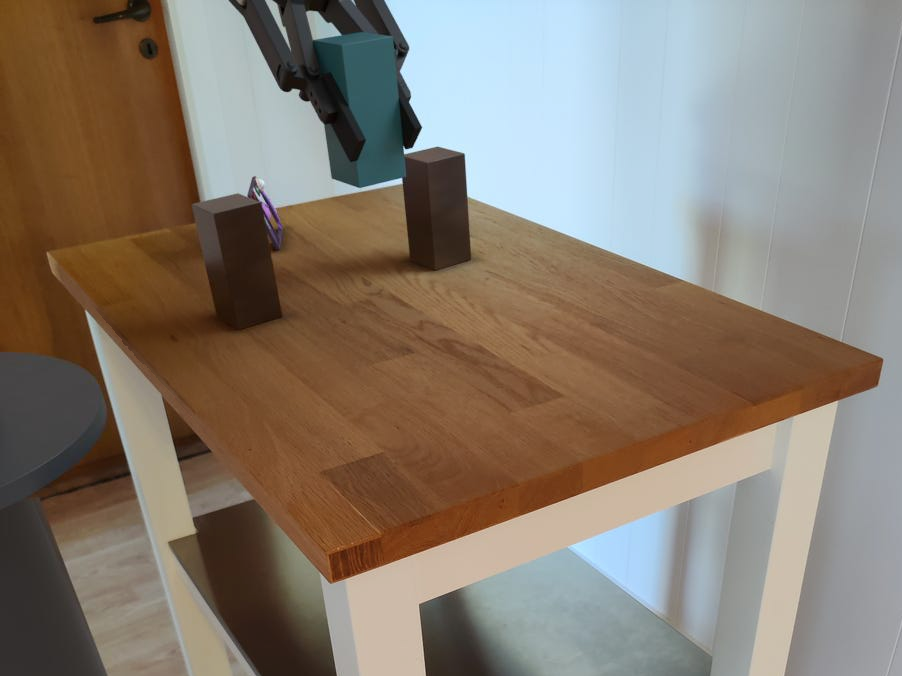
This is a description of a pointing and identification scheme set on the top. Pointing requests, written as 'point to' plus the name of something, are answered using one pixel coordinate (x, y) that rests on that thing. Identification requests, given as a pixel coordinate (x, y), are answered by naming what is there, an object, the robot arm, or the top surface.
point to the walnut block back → (436, 207)
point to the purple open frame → (266, 211)
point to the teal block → (365, 106)
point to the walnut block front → (238, 260)
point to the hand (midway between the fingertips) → (386, 144)
